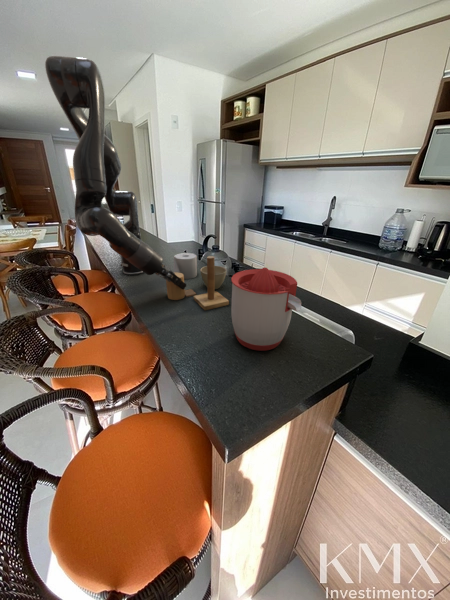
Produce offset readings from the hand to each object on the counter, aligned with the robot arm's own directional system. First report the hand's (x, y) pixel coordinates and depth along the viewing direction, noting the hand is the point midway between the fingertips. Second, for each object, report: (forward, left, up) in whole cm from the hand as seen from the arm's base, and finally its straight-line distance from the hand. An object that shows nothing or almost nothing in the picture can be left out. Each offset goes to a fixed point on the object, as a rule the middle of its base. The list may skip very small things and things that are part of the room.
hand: (179, 284), depth 88 cm
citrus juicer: (+36, +9, -5) cm, 38 cm away
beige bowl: (-1, +14, -5) cm, 15 cm away
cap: (0, 0, -4) cm, 4 cm away
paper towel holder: (+10, +7, -4) cm, 13 cm away
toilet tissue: (-18, +8, -5) cm, 20 cm away
